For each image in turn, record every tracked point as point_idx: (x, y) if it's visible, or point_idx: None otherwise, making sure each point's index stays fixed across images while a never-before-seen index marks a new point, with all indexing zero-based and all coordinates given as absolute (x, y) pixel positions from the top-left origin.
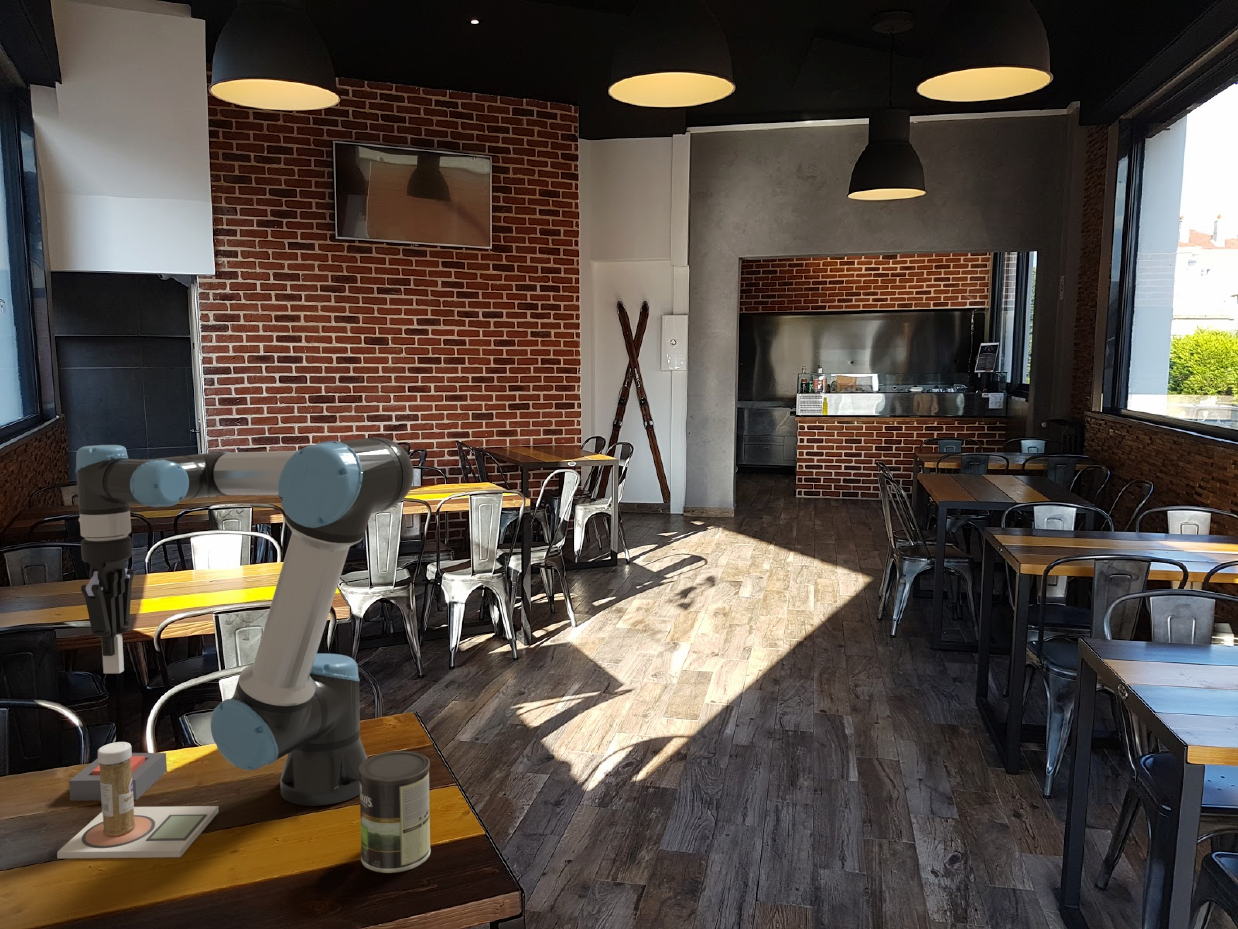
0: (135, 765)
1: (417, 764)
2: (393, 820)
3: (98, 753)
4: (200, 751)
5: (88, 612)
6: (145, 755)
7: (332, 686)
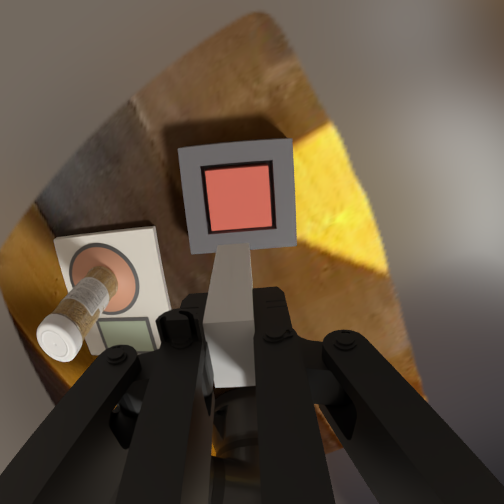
0: (238, 228)
1: None
2: None
3: (37, 328)
4: (363, 247)
5: (17, 456)
6: (284, 218)
7: None
